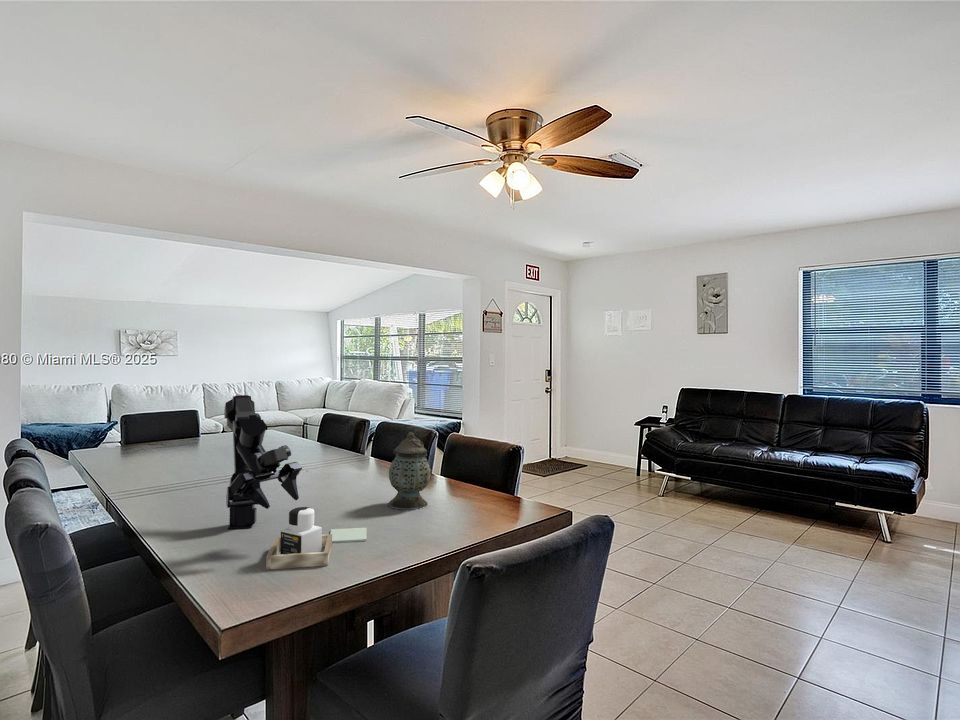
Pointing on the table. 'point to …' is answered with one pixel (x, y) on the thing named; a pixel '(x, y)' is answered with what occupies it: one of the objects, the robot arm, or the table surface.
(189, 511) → the table surface
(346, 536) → the sage mat
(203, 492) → the table surface
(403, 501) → the lantern
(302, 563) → the birch box
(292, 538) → the medicine bottle
